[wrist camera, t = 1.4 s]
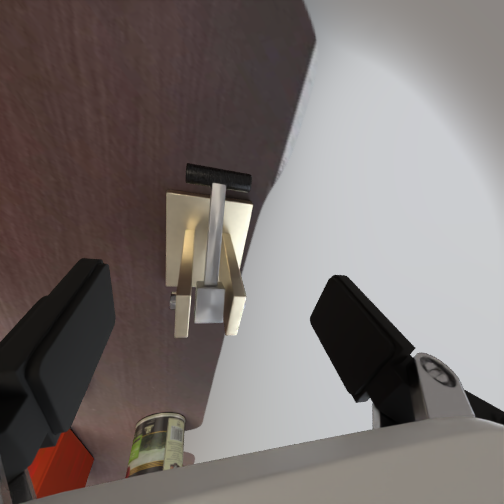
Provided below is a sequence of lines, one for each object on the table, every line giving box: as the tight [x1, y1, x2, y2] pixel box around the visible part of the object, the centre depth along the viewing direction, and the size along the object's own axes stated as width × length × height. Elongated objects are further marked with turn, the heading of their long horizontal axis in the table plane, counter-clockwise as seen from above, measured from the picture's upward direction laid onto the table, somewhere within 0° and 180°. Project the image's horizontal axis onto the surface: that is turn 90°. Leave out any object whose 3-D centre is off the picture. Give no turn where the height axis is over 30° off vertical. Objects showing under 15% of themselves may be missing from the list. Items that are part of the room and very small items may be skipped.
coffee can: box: [125, 413, 185, 478], centre depth 41 cm, size 10×10×14 cm
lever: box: [186, 163, 252, 323], centre depth 17 cm, size 12×5×2 cm, turn 168°
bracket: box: [166, 189, 253, 338], centre depth 21 cm, size 12×9×12 cm
